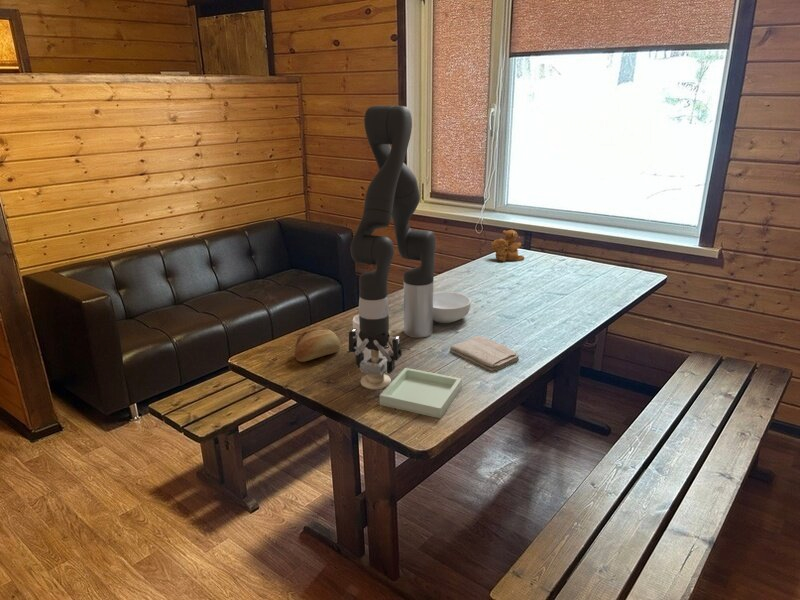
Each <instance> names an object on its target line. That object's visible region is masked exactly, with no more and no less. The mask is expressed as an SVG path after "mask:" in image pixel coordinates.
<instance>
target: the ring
mask: <svg viewBox="0 0 800 600" xmlns="http://www.w3.org/2000/svg"><path fill="white" fill-rule="evenodd" d="M387 361H388V360H387V359H386V357H385V356H384V355H382V356H380V355H379V364H375V363H372V362H371V354H369V355H368V356H367V357H366V358H365V359H364V360H363V361H361V362H360V368H359V371H360V372H362V373H366V374H367V373H370V374H375V375H379V376H381V375H382V374H383V373H384V374H385V372H387Z"/></svg>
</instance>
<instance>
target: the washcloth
mask: <svg viewBox="0 0 800 600" xmlns="http://www.w3.org/2000/svg"><path fill="white" fill-rule="evenodd" d="M449 351H450V352H451V353H453V354H455V355H457V356H460V357H462V358H464V359H466V360H468V361H470V362H473V363H474V364H476V365H479V366H481V367H483V368H485V369H487V370H488V371H491V372H494V370H495V371H497V370H500V369H503V368H506V367H507V366H509V365H512V364H514V363H516V362H518V361H520V358H519V357H520V356H519V355H517V352H516V351H514V350H512V349H511V348H510V347H508V346H507V345H505V344H502V343H498V342H497V341H494V340H492V339H489V338H486V337H484V336H482V335H475V336H472V337H470V338H468V339H467V340H465V341H461V342H458V343H456V344H453V345H451V346H450V348H449ZM515 361H516V362H515ZM513 362H514V363H513ZM511 363H512V364H511ZM508 364H509V365H508ZM506 365H507V366H506Z"/></svg>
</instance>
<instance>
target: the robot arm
mask: <svg viewBox="0 0 800 600" xmlns="http://www.w3.org/2000/svg"><path fill="white" fill-rule="evenodd" d="M363 124H364V130H365V135H366V137H367V138H366V139H367V141H368V144H369V146H370V149H371V151H372V154H373V157H374V158H375V162H376V164H377V167H378V172H377V173H376V174H375V175H374V177H373V178H372V179H371V180H370V181H371V182H370V183H369V184H368V187H367V190H366V192H365V199H364V205H363V212H362V216H361V220H360V222H359V225H358V227H357V229H356V232H355V233H354V236H353V238H352V241H351V245H350V249H349V250H350V255H351V258H352V259H353V261H354V262H355V263H359V264H365V265H366V264H367V265H376V269H375V270H369V271H366V272H362V273H361V274H360V275H359V277H358V287H359V290H358V291H359V298H358V299H359V300H358V312H359V313H358V314H359V325H360V331H358V330H357V329H356V328H353V329H351V330H350V331H349V332H348V351H349V352H350V353H354V354H355V364H356V366H357V368H358V369H360V362H361V361H363V360H364V353H362V351H363V350H364V349H365V348H366V347H367V348H368V349H370V350H372V349H373V350H375V351H379V350H380V352H381V353H382V356H385V357H386V359H387V360H388V361H387V370H386V375H390V374H391V373H392V372H394V371H395V367H396V364H395V363H396V362H395V361H399V359H400V358H401V357H402V356H403V354H402V343H401V342H402V340H401V339H402V338H401V336H400V335H396V336H391V335H390V333H389V332H390V331H389V329H390V320H389V318H390V317H389V315H390V314H389V311H390V310H389V307H390V306H389V298H388V278H389V272H390V268H391V264H392V261H393V257H394V254H395V247H394V243H393V241H392V239H391V238H389V237H387V236H383V235H372V234H373V232H374V231H375V230H377V229H381V228H383V229H384V228H386V227H387V228H388V226H390V225H391V222H393V228H394V233H395V239H396V245H397V249H398V253H399V255H400V257H401V258H402V259H405V260H410V261H411V260H412V261H420V262H421V263H420V265H419V266H416V267H413V268H409V269H406V271H404V273H403V332H404V333H403V334H405V336H408V337H411V338H418V339H419V338H426V337H429V336H431V335H432V334H433V332H434V320H433V292H434V281H435V280H434V278H435V277H434V276H435V275H434V274H435V258H436V246H437V245H436V244H437V243H436V241H437V240H436V235H435V233H434V231H432V230H427V229H426V230H425V229H415V228H411V227H410V224H409V222H410V220H411V217H412V216H413V215H414V213H415V211H416V209H417V208H418V206H419V203H420V198H421V195H420V190H419V185H418V181H417V178H416V175H415V173H414V172H413V170H411V168H410V167H409V165H407V164H406V163H405V158H406V155H407V150H408V147H409V143H410V140H411V135H412V129H413V116H412V112H411V111H410V109H409V108H408V107H407V106H405V105H372V106H370V107H367V109H366V110H365V113H364V122H363ZM358 336H359V337H360V339H361V340H362V343H361V345H360V346H359V347H357V337H358ZM389 342H390V344H389Z"/></svg>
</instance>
